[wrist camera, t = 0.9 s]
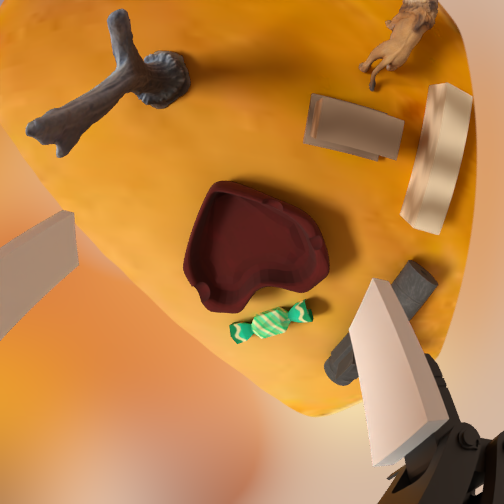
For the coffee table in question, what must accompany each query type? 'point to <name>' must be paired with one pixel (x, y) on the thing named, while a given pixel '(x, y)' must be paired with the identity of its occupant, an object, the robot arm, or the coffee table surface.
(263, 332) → the candy
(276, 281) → the ashtray
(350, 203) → the coffee table surface
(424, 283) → the laser sight
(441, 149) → the block
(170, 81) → the antler
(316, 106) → the pedestal
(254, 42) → the coffee table surface
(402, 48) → the lion figurine
